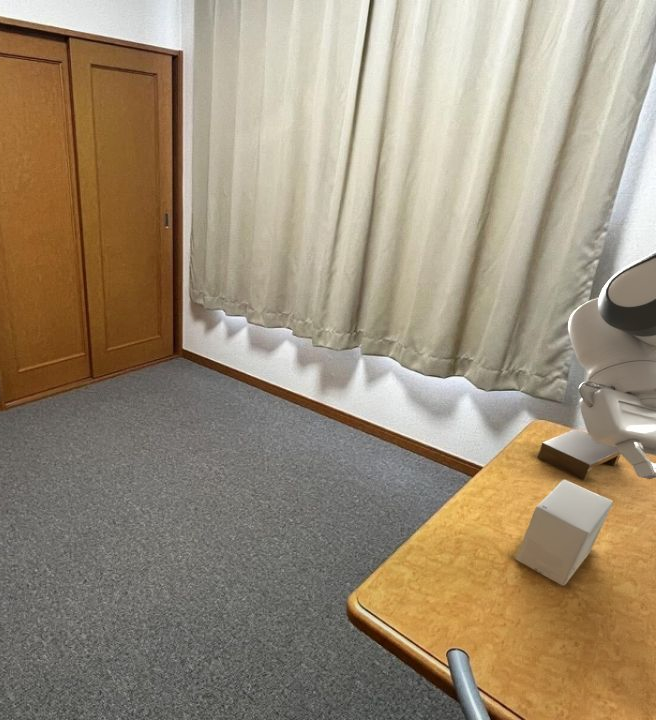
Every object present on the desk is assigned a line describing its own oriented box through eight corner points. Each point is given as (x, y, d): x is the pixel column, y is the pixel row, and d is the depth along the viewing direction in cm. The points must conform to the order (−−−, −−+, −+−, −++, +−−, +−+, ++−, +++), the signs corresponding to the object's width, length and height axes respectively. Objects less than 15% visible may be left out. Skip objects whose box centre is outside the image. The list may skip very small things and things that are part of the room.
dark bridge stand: (616, 466, 90) (623, 448, 89) (582, 482, 86) (589, 464, 85) (569, 445, 97) (575, 428, 96) (536, 459, 93) (542, 442, 91)
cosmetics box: (565, 590, 66) (590, 532, 61) (513, 561, 70) (533, 505, 66) (591, 555, 71) (616, 499, 67) (541, 530, 76) (561, 477, 72)
